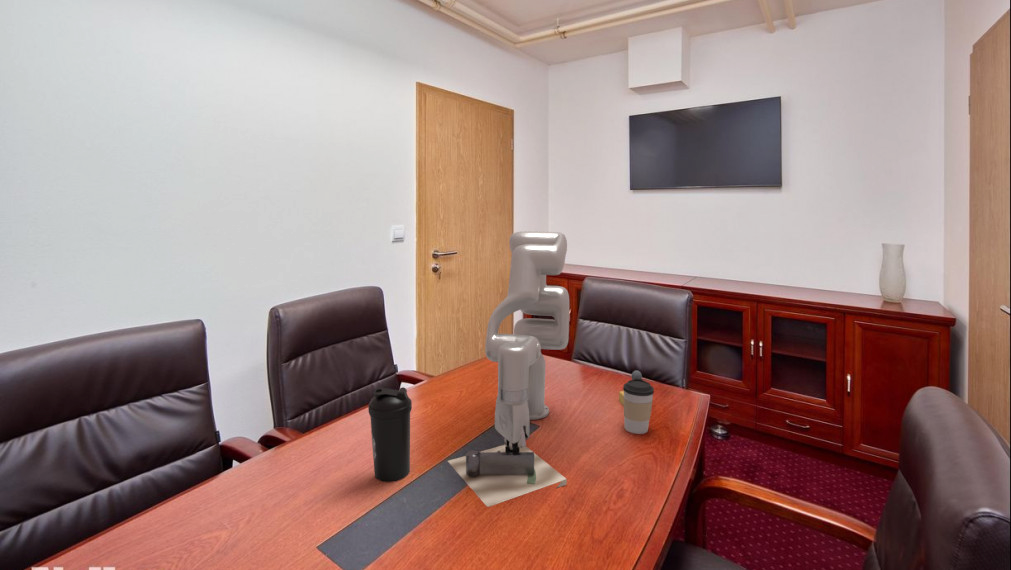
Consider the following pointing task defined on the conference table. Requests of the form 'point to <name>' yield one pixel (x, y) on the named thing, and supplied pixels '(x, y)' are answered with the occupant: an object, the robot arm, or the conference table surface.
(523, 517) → the conference table surface
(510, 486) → the dial plate
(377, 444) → the water bottle
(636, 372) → the rubber stamp
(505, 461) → the pointer lever
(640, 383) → the coffee cup
